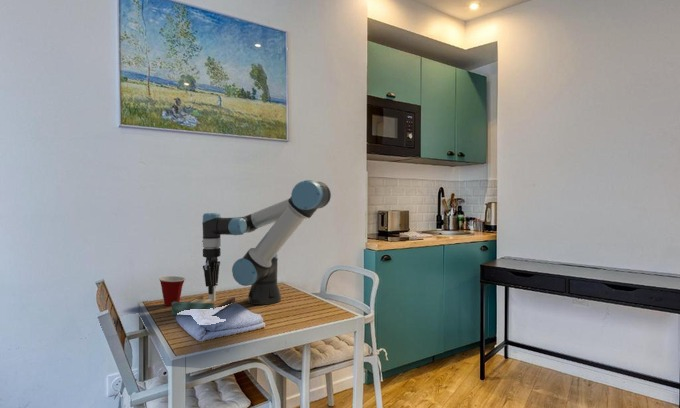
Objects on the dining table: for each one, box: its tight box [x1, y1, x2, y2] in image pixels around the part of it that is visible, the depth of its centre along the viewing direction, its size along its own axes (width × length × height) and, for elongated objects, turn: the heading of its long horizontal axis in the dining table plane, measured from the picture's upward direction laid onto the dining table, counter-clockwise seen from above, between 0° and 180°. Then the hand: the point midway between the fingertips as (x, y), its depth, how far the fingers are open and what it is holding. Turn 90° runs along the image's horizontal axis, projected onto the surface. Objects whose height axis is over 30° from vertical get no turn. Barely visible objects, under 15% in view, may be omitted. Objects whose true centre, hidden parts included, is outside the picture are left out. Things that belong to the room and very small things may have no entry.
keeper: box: [190, 298, 213, 303], centre depth 165 cm, size 7×7×4 cm
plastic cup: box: [158, 275, 186, 307], centre depth 176 cm, size 11×11×12 cm
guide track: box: [171, 295, 236, 316], centre depth 170 cm, size 17×24×5 cm
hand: (212, 300), depth 176 cm, fingers closed
